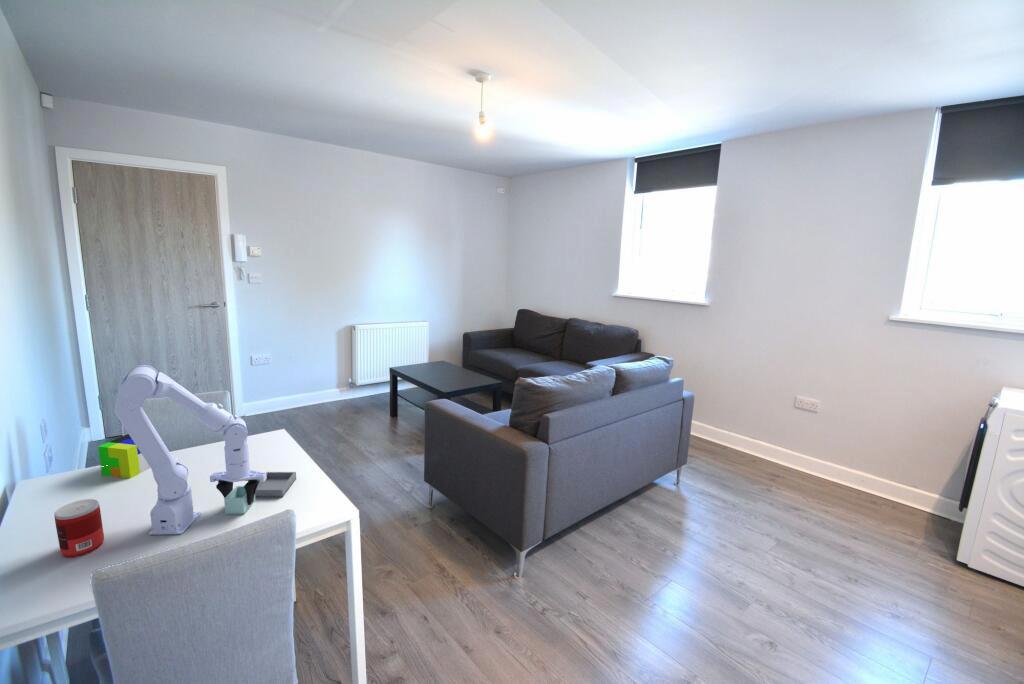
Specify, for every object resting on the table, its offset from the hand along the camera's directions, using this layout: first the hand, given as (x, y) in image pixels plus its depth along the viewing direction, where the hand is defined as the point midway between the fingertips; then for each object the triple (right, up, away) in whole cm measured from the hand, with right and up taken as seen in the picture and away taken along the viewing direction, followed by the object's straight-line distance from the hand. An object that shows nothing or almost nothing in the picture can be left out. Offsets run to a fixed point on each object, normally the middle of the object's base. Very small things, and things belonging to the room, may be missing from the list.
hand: (240, 503), depth 130 cm
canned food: (-27, -4, -19) cm, 34 cm away
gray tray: (+4, +1, +12) cm, 12 cm away
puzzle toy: (-47, +4, +18) cm, 51 cm away
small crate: (0, -1, 0) cm, 1 cm away
